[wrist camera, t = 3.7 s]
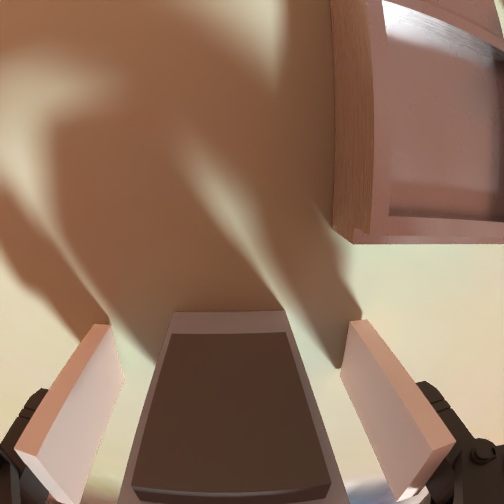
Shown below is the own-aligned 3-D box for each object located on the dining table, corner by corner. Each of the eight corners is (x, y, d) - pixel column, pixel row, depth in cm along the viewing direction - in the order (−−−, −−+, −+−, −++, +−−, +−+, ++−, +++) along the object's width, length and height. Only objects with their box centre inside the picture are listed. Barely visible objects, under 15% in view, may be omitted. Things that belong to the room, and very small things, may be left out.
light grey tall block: (279, 391, 12) (315, 564, 5) (185, 393, 12) (163, 567, 4) (285, 294, 11) (362, 501, 3) (172, 296, 11) (102, 504, 3)
